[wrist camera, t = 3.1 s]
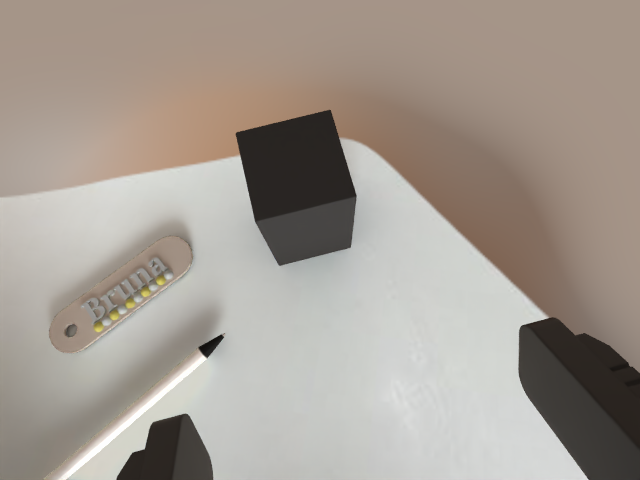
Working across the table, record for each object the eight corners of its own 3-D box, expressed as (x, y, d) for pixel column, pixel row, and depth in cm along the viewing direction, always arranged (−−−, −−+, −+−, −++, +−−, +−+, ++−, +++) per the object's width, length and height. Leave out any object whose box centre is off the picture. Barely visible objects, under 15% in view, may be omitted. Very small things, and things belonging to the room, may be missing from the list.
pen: (-41, 552, 25) (-57, 560, 24) (222, 329, 28) (218, 327, 27) (-33, 566, 25) (-50, 575, 24) (231, 339, 28) (226, 338, 27)
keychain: (60, 362, 28) (37, 324, 28) (66, 363, 28) (43, 326, 29) (198, 259, 29) (173, 225, 30) (201, 261, 30) (176, 228, 30)
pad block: (332, 181, 31) (330, 108, 23) (351, 247, 30) (356, 196, 21) (263, 198, 31) (235, 132, 22) (278, 265, 30) (255, 222, 21)
